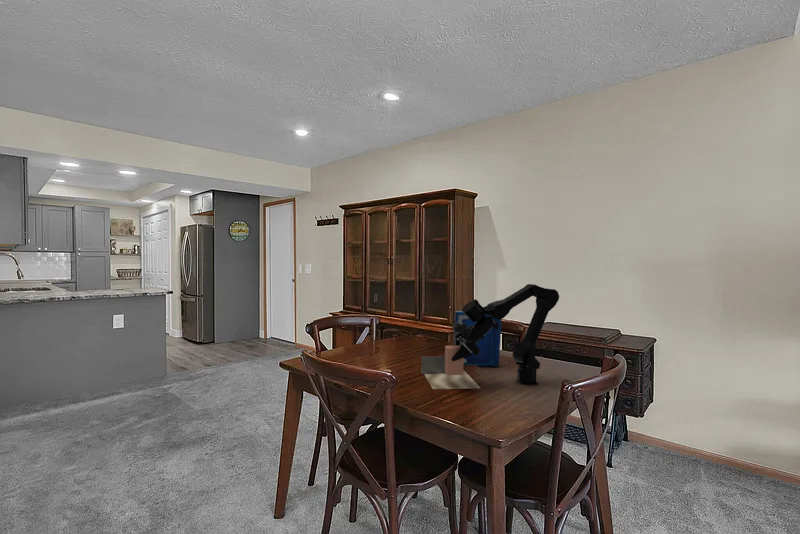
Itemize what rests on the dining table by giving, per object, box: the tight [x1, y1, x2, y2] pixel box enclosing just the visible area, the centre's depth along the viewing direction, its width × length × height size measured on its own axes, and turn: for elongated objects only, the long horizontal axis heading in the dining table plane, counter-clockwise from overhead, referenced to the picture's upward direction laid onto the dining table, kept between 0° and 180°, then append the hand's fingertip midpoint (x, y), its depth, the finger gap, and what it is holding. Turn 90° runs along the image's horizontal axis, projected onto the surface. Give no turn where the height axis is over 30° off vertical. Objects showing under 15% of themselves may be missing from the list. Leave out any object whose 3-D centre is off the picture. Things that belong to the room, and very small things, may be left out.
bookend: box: [420, 355, 446, 375], centre depth 177 cm, size 12×3×7 cm, turn 96°
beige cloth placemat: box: [424, 370, 481, 390], centre depth 168 cm, size 18×24×1 cm
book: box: [453, 309, 502, 368], centre depth 194 cm, size 22×7×25 cm, turn 84°
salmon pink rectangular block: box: [444, 345, 464, 375], centre depth 161 cm, size 6×5×10 cm
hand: (450, 358), depth 161 cm, fingers closed on salmon pink rectangular block, 5 cm apart
